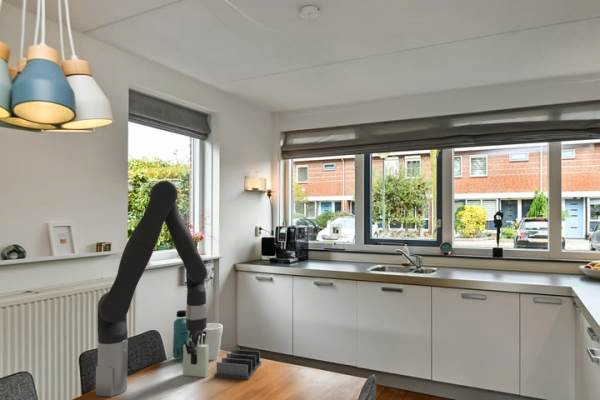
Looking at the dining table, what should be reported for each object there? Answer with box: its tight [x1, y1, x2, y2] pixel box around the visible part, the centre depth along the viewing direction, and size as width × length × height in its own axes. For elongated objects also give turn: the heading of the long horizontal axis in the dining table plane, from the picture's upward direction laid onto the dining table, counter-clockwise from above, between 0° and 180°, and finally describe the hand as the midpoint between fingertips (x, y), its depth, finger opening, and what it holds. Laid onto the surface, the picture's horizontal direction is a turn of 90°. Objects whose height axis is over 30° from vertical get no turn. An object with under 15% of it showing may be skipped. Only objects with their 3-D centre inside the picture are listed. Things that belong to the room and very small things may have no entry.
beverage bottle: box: [172, 309, 189, 360], centre depth 169 cm, size 6×7×20 cm
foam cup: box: [203, 322, 224, 361], centre depth 172 cm, size 10×9×13 cm
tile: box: [182, 344, 210, 378], centre depth 153 cm, size 3×9×11 cm, turn 78°
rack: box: [214, 348, 262, 381], centre depth 158 cm, size 16×13×5 cm
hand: (195, 362), depth 153 cm, fingers closed on tile, 2 cm apart
